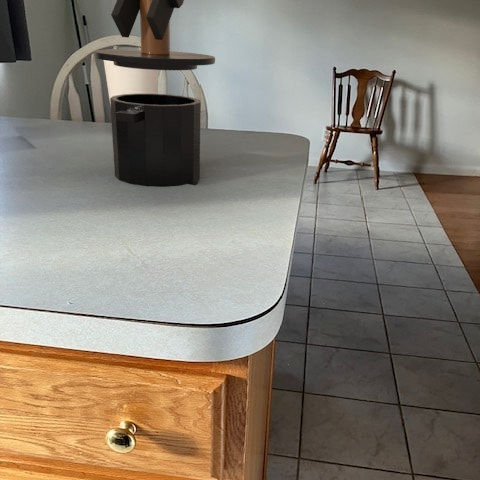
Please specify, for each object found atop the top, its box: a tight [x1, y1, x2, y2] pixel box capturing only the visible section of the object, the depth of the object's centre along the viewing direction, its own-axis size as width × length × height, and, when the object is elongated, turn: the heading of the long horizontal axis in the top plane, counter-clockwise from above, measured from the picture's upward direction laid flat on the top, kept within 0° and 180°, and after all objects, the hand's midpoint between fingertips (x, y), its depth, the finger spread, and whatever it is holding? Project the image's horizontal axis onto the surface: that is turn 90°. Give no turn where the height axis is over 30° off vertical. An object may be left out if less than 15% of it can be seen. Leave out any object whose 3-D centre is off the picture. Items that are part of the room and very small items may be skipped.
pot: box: [109, 93, 202, 188], centre depth 73 cm, size 12×17×10 cm
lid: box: [93, 0, 216, 71], centre depth 55 cm, size 13×13×11 cm
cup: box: [103, 60, 159, 107], centre depth 101 cm, size 10×10×13 cm
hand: (137, 27), depth 53 cm, fingers closed on lid, 3 cm apart
